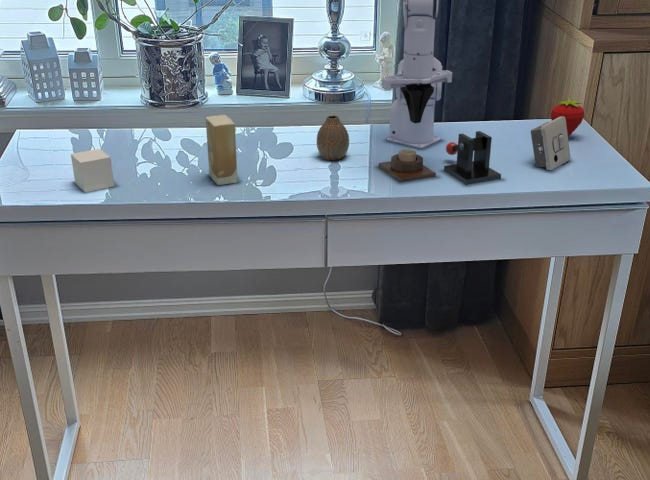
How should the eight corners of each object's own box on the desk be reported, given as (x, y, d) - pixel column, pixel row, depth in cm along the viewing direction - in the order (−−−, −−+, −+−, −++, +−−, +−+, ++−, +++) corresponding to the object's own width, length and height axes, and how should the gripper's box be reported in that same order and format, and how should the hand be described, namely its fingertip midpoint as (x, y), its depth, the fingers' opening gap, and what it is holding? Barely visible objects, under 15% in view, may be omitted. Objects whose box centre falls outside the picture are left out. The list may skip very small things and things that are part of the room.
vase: (353, 154, 194) (353, 113, 189) (343, 164, 189) (343, 123, 184) (323, 150, 196) (322, 110, 191) (312, 160, 190) (311, 119, 186)
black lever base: (443, 171, 185) (446, 131, 181) (477, 165, 188) (480, 126, 183) (466, 185, 178) (469, 144, 174) (500, 179, 181) (504, 139, 176)
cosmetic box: (208, 175, 183) (204, 116, 176) (229, 172, 184) (225, 113, 178) (217, 186, 178) (213, 125, 171) (238, 183, 179) (235, 122, 173)
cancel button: (395, 158, 184) (395, 150, 183) (410, 156, 185) (411, 148, 184) (403, 164, 181) (403, 155, 180) (419, 161, 182) (419, 153, 181)
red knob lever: (444, 156, 189) (442, 143, 188) (455, 154, 190) (453, 142, 189) (473, 151, 178) (471, 137, 178) (484, 149, 179) (482, 136, 178)
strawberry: (544, 134, 206) (549, 90, 201) (576, 133, 206) (583, 89, 201) (551, 142, 201) (557, 97, 196) (584, 141, 201) (591, 96, 196)
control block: (378, 167, 187) (378, 153, 185) (412, 162, 190) (412, 148, 188) (400, 183, 179) (401, 168, 178) (435, 177, 182) (436, 163, 180)
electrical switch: (550, 172, 184) (552, 127, 180) (527, 169, 187) (528, 124, 183) (570, 160, 191) (573, 116, 186) (548, 158, 194) (550, 114, 189)
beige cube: (75, 183, 179) (70, 153, 176) (104, 177, 182) (100, 148, 179) (85, 192, 175) (80, 162, 172) (114, 186, 178) (110, 157, 175)
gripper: (394, 60, 167) (392, 132, 175) (462, 52, 172) (456, 122, 180) (377, 52, 173) (376, 121, 180) (443, 44, 178) (439, 113, 185)
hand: (415, 121), depth 180 cm, fingers closed
